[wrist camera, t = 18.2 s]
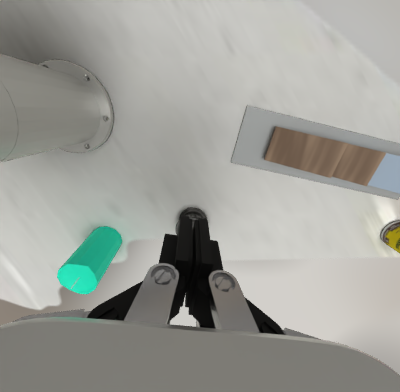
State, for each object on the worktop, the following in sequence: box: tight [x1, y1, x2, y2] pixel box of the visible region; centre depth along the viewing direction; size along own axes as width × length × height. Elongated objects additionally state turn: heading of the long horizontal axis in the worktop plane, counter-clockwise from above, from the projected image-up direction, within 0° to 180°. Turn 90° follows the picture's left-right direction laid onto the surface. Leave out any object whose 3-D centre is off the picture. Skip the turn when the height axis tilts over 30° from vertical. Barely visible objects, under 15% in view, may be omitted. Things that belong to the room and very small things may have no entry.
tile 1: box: [264, 126, 348, 178], centre depth 30 cm, size 2×5×10 cm
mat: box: [231, 105, 400, 200], centre depth 33 cm, size 32×9×1 cm, turn 77°
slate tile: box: [368, 153, 400, 194], centre depth 31 cm, size 2×5×10 cm
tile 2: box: [332, 144, 386, 186], centre depth 30 cm, size 2×5×10 cm
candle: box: [57, 226, 122, 294], centre depth 34 cm, size 6×6×12 cm
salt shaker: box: [176, 208, 209, 234], centre depth 32 cm, size 6×6×12 cm
